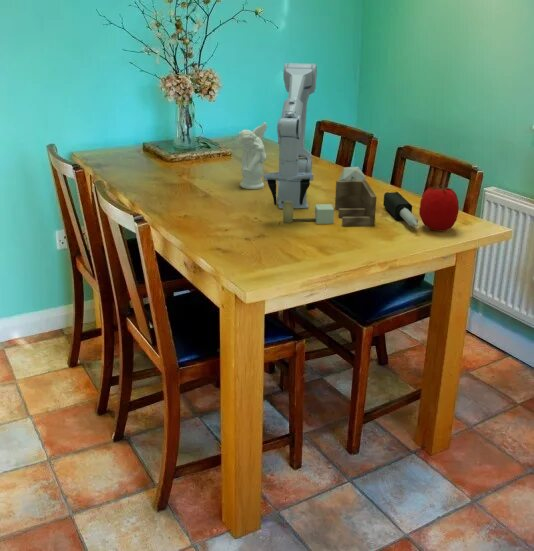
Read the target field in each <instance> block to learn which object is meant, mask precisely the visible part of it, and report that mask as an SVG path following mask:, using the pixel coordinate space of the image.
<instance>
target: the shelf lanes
mask: <svg viewBox="0 0 534 551" xmlns="http://www.w3.org/2000/svg"><path fill="white" fill-rule="evenodd" d="M334 197H335V198H334V201H335V203H334V210H338V213H337V214H338V215H337V216H338V218H340V219H341V226H342V227H374V226H375V225H376V209H377V195H376V193H374V190H373V189H372V188H371V186H370V184H369V182H368V180H365V181H338V180H336V181H335V196H334Z"/></svg>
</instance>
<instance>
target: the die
mask: <svg viewBox="0 0 534 551" xmlns="http://www.w3.org/2000/svg"><path fill="white" fill-rule="evenodd" d="M366 179H367V177H366V176H365V174H364V172H363V171H362V170H361V169H360V167H359V166H348V167H343V170H342V172H341V174H340V176H339V178H338V180H337V181H366Z"/></svg>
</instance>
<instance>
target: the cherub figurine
mask: <svg viewBox="0 0 534 551" xmlns="http://www.w3.org/2000/svg"><path fill="white" fill-rule="evenodd" d="M267 124H268V123H266V121H264V122H263V123H262V125H259V126H256V127H255V128H254V129H253V131H252V130H250V129H243V130H241V131H238V142H239V144H240V145H241V149H242V152H241V156H240V157H241V158H240V161H241V168H240V171H241V176H242V178H241V182H239V186H240V187H241V188H243V189H246V190H258V189H260V190H261V189H263V188H264V186H265V183H264V181H263V178H262V177H263V176H264V166H263V164H264V163H265V162H266V160H267V154H266V150H265V145H264V142H263V140H262V138H263V137H264V135H265V133H266V131H267V128H268V125H267Z"/></svg>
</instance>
